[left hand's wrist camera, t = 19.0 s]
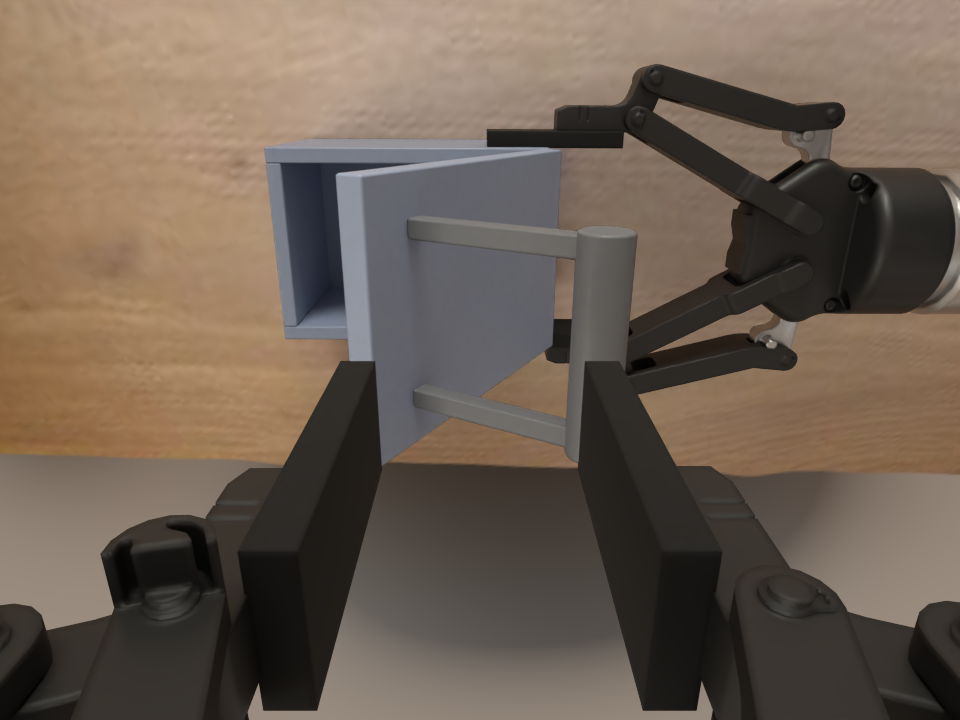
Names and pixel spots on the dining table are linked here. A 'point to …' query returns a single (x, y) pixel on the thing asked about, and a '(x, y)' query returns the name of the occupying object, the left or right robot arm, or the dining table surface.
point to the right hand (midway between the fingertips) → (486, 240)
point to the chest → (332, 217)
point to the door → (473, 290)
